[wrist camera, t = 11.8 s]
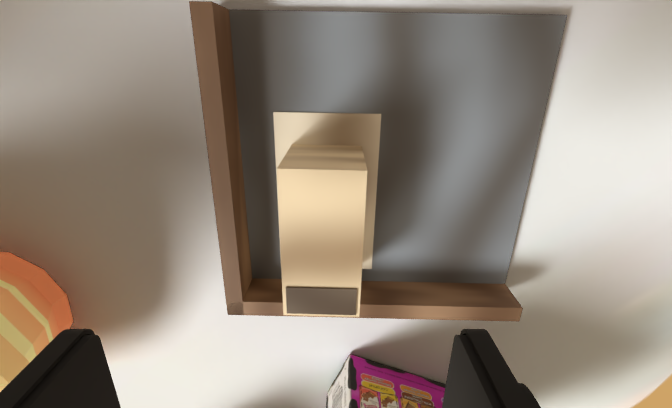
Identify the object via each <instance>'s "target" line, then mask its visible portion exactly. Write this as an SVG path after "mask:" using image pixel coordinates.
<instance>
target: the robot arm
mask: <svg viewBox="0 0 672 408" xmlns="http://www.w3.org/2000/svg"><path fill="white" fill-rule="evenodd" d="M0 408H120V404H119V401H118V397H117V394H116V391H115V387H114V384H113V380H112V377H111V374H110V370H109V367H108V364H107V360H106V357H105V354H104V350H103V347H102V344H101V340H100V338H99V336H98V335H95V334H94V332H93V331H92V330H91V329H66V330H63V331H62V332H60V333H59V334H58V335H57V336H56V337H55V338H54V339H53V340H52V341H51V342H50V343H49V344H48V345H47V346H46V347H45V348H44V349H43V350H42V351H41V352H40V353H39V354H38V355H37V356H36V357H35V358H34V359H33V360H32V361H31V362H30V363H29V364H28V365H27V366H26V367H25V368H24V369H23V370H22V371H21V372H20V373H19V374H18V375H17V376H16V377H15V378H14V379H13V380H12V381H11V382H10V383H9V384H8V385H7V386H6V387H5V388H4V389H3V390H2V391H1V392H0ZM442 408H541V407H540V406H539V404H538V402H537V401H536V399H535V398H534V396H533V394H532V393H531V391H530V390H529V389H528V387H526V386H525V385H524V384H522V383H518V382H517V381H516V379H515V377H514V375H513V374H512V372H511V370H510V369H509V367H508V365H507V364H506V362H505V360H504V359H503V357H502V355H501V353H500V352H499V350H498V348H497V347H496V345H495V343H494V342H493V340H492V338H491V336H490V335H489V333H488V332H487V331H486V330H485V329H463V330H462V331H461V334H460V335H456V336H455V337H454V342H453V348H452V353H451V359H450V364H449V370H448V376H447V381H446V387H445V392H444V398H443V404H442Z"/></svg>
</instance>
